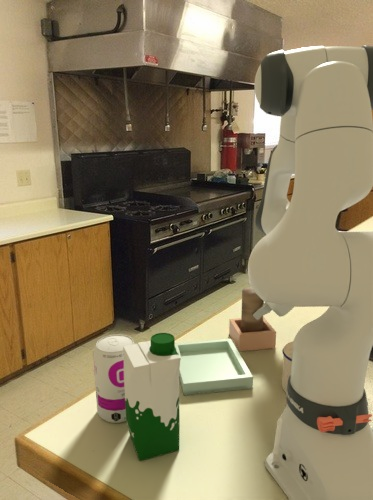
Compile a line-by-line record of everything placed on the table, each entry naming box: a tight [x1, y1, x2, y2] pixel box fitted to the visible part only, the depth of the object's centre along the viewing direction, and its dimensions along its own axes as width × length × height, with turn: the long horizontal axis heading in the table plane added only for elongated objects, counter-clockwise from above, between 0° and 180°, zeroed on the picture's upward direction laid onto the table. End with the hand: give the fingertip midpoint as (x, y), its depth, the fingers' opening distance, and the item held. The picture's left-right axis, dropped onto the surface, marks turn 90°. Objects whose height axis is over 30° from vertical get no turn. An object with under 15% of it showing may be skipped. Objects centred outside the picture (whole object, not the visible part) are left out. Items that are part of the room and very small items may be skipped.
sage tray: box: [175, 338, 254, 396], centre depth 98 cm, size 18×15×3 cm
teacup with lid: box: [281, 341, 293, 393], centre depth 91 cm, size 12×9×12 cm
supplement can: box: [92, 333, 136, 424], centre depth 82 cm, size 8×8×15 cm
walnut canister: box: [240, 286, 265, 333], centre depth 111 cm, size 6×6×14 cm
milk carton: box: [123, 332, 181, 462], centre depth 73 cm, size 9×9×20 cm
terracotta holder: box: [228, 316, 277, 352], centre depth 112 cm, size 10×10×4 cm
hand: (250, 311), depth 110 cm, fingers closed on walnut canister, 6 cm apart
